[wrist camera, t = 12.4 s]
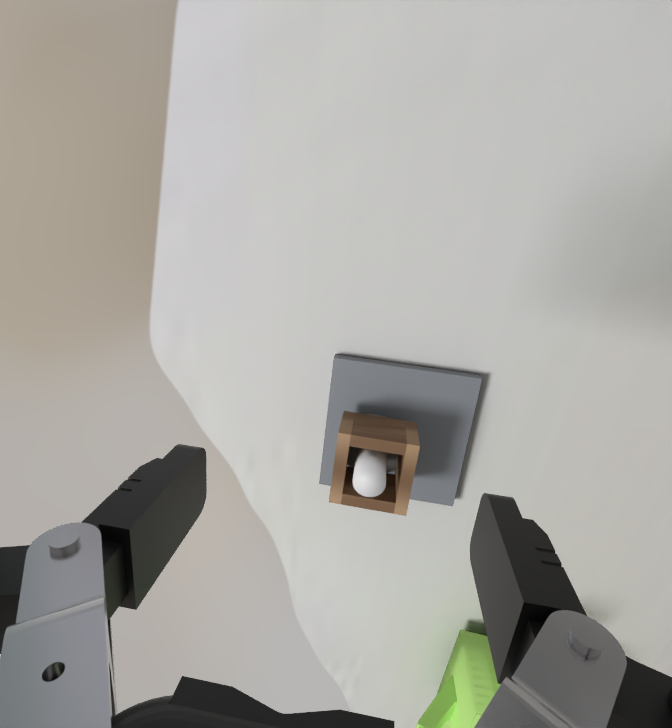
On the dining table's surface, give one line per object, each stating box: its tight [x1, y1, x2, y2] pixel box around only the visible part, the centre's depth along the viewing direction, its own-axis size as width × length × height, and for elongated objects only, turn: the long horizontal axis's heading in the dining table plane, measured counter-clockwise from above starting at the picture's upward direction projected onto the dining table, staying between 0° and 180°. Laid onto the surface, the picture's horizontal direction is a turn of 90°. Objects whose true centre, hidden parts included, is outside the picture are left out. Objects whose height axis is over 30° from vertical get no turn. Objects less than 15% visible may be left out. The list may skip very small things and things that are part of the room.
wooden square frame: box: [329, 411, 420, 516], centre depth 36 cm, size 6×6×4 cm
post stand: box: [319, 354, 482, 506], centre depth 36 cm, size 13×13×8 cm
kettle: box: [416, 630, 501, 728], centre depth 41 cm, size 15×14×11 cm
